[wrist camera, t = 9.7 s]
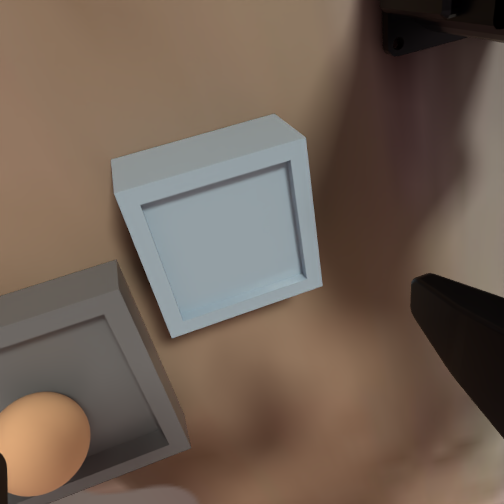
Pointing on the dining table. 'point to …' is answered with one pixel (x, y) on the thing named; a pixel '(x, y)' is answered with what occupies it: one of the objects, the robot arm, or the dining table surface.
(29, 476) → the ball
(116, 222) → the dining table surface
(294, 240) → the light blue storage bin
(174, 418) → the tray
